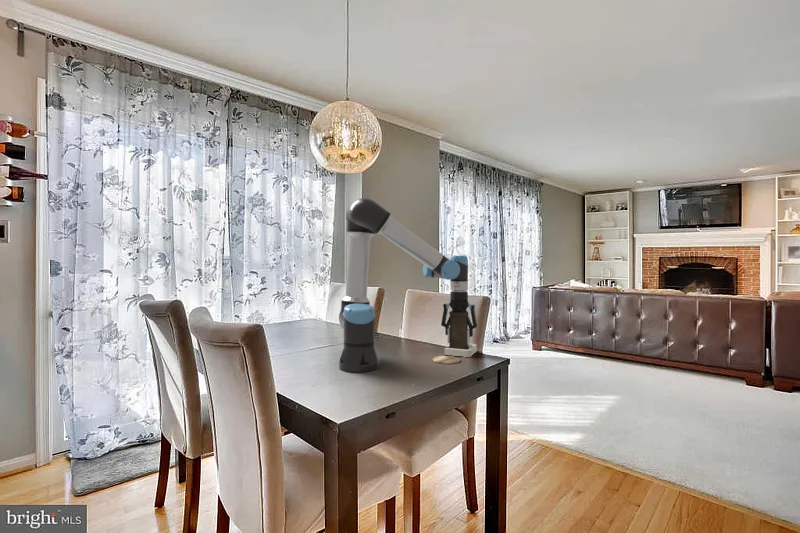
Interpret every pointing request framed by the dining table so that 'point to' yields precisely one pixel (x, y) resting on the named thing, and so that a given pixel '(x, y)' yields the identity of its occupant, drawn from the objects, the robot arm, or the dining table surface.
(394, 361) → the dining table surface
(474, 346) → the cradle
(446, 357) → the disc
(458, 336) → the container
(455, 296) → the robot arm
